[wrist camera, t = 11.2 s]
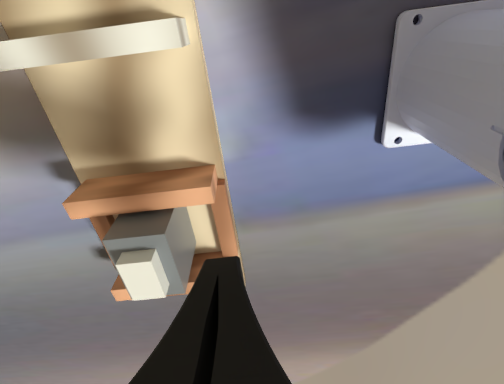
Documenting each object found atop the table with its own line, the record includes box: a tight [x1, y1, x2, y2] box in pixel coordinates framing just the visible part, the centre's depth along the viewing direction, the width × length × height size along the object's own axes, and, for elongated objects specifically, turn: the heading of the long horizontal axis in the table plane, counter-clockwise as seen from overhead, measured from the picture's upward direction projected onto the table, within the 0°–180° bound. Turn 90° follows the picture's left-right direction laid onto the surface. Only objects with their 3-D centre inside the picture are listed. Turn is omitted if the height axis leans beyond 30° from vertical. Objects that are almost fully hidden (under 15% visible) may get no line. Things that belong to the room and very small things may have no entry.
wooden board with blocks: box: [0, 0, 245, 301], centre depth 17 cm, size 10×32×4 cm, turn 6°
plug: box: [102, 207, 196, 301], centre depth 19 cm, size 4×5×6 cm
